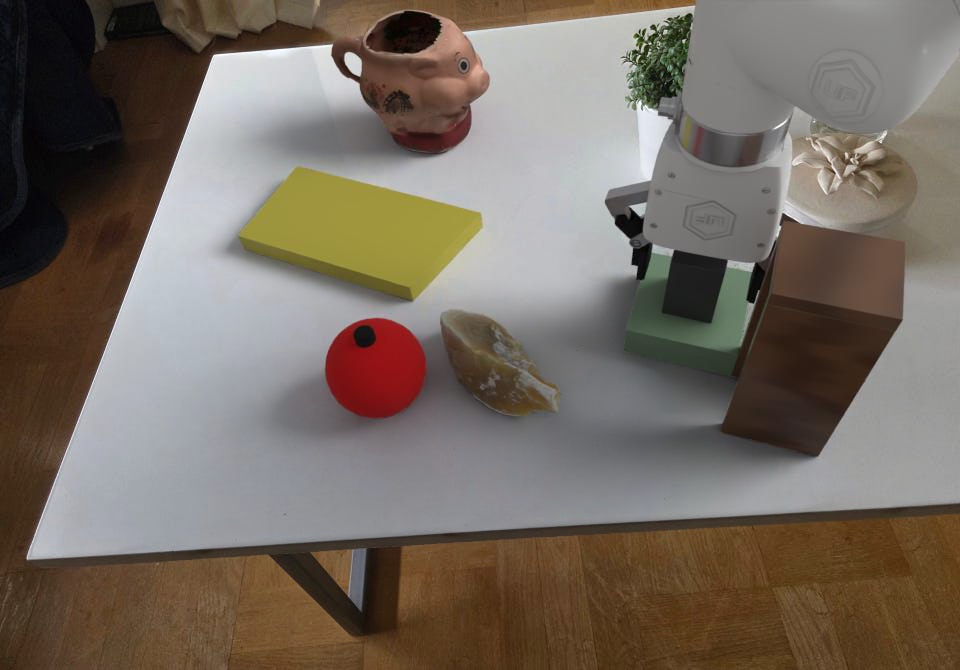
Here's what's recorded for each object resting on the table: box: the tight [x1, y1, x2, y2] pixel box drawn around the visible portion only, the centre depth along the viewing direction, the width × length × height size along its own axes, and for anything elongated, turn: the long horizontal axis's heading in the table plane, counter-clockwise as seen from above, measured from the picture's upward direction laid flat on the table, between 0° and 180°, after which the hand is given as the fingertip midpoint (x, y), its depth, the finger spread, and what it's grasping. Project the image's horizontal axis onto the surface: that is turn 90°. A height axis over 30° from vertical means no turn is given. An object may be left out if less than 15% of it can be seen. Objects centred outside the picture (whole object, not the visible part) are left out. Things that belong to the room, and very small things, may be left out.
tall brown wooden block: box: [720, 221, 907, 458], centre depth 57 cm, size 8×7×19 cm
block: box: [662, 250, 729, 323], centre depth 65 cm, size 4×4×7 cm
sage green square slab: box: [622, 252, 752, 378], centre depth 69 cm, size 10×10×4 cm
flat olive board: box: [237, 165, 483, 302], centre depth 81 cm, size 12×2×24 cm
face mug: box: [330, 9, 491, 154], centre depth 86 cm, size 20×12×14 cm, turn 74°
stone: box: [439, 308, 562, 418], centre depth 66 cm, size 7×6×15 cm
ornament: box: [324, 317, 427, 419], centre depth 65 cm, size 9×9×10 cm
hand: (696, 280), depth 65 cm, fingers open, 9 cm apart
